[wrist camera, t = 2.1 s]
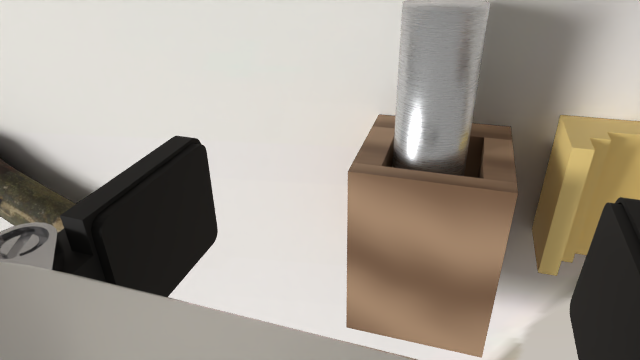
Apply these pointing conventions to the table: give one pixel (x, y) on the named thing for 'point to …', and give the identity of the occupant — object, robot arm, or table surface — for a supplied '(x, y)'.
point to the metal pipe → (29, 200)
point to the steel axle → (438, 83)
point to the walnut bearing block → (428, 241)
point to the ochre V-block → (583, 185)
